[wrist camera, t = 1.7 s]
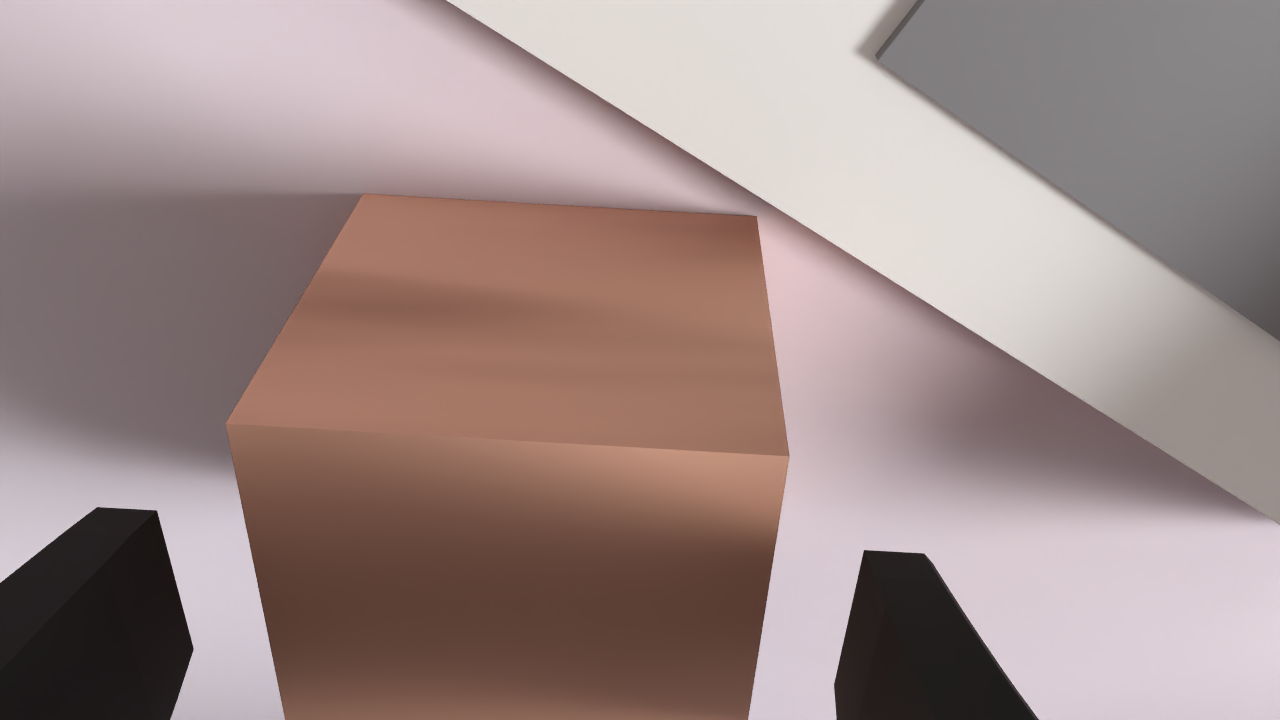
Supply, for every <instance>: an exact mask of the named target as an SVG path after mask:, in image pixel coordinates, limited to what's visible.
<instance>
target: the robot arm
mask: <svg viewBox="0 0 1280 720" xmlns="http://www.w3.org/2000/svg"><path fill="white" fill-rule="evenodd" d="M192 653H193V645H192V641H191V637H190V634H189V630H188V626H187V622H186V618H185V615H184V611H183V607H182V603H181V600H180V596H179V592H178V588H177V585H176V581H175V577H174V573H173V570H172V566H171V562H170V558H169V555H168V551H167V547H166V543H165V539H164V536H163V532H162V528H161V524H160V521H159V517H158V513H157V511H155V510H137V509H119V508H101V507H97V508H96V509H94V510H93V511H92V512H90V513H89V514H88V515H86V516H85V517H84V518H82V519H81V520H80V521H78V522H77V523H76V524H74V525H73V526H72V527H70V528H69V529H68V530H67V531H65V532H64V533H63V534H61V535H60V536H59V537H58V538H56V539H55V540H54V541H53V542H51V543H50V544H49V545H47V546H46V547H45V548H44V549H42V550H41V551H40V552H39V553H37V554H36V555H35V556H34V557H32V558H31V559H30V560H29V561H27V562H26V563H25V564H24V565H22V566H21V567H20V568H19V569H17V570H16V571H15V572H14V573H12V574H11V575H10V576H9V577H7V578H6V579H5V580H4V581H2V582H1V583H0V720H170V718H171V716H172V713H173V710H174V707H175V704H176V702H177V699H178V696H179V692H180V689H181V686H182V683H183V680H184V677H185V674H186V671H187V668H188V665H189V662H190V659H191V656H192ZM834 689H835V702H836V715H837V720H1039V719H1038V718H1037V717H1036V715H1035V714H1034V713H1033V711H1032V710H1031V709H1030V707H1029V706H1028V704H1027V703H1026V702H1025V700H1024V699H1023V698H1022V696H1021V695H1020V694H1019V692H1018V691H1017V690H1016V688H1015V687H1014V685H1013V684H1012V682H1011V681H1010V680H1009V678H1008V677H1007V675H1006V674H1005V672H1004V671H1003V670H1002V668H1001V667H1000V665H999V664H998V662H997V661H996V659H995V658H994V657H993V655H992V654H991V652H990V651H989V649H988V648H987V646H986V645H985V643H984V642H983V640H982V639H981V637H980V636H979V634H978V633H977V631H976V630H975V628H974V627H973V625H972V624H971V622H970V621H969V619H968V618H967V616H966V615H965V613H964V612H963V610H962V609H961V607H960V606H959V604H958V602H957V601H956V599H955V598H954V596H953V595H952V593H951V592H950V590H949V588H948V587H947V585H946V584H945V582H944V581H943V579H942V577H941V576H940V574H939V573H938V571H937V570H936V568H935V566H934V565H933V563H932V562H931V561H930V560H929V559H928V557H927V556H926V555H925V554H922V553H904V552H887V551H869V550H864V553H863V557H862V562H861V566H860V571H859V575H858V580H857V584H856V589H855V593H854V598H853V602H852V607H851V611H850V616H849V620H848V625H847V629H846V634H845V638H844V643H843V647H842V652H841V656H840V661H839V665H838V670H837V674H836V679H835V683H834Z"/></svg>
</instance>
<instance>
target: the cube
mask: <svg viewBox="0 0 1280 720" xmlns="http://www.w3.org/2000/svg"><path fill="white" fill-rule="evenodd" d="M225 425H226V430H227V434H228V439H229V444H230V449H231V454H232V459H233V464H234V469H235V474H236V479H237V484H238V489H239V494H240V499H241V504H242V509H243V513H244V518H245V523H246V528H247V533H248V538H249V543H250V548H251V553H252V558H253V563H254V568H255V573H256V578H257V583H258V588H259V592H260V597H261V602H262V607H263V612H264V617H265V622H266V627H267V632H268V637H269V642H270V647H271V652H272V657H273V662H274V667H275V671H276V676H277V681H278V686H279V691H280V696H281V701H282V706H283V711H284V716H285V720H748V716H749V709H750V703H751V697H752V690H753V684H754V678H755V671H756V665H757V659H758V652H759V646H760V640H761V633H762V627H763V621H764V614H765V608H766V601H767V595H768V589H769V582H770V576H771V570H772V563H773V557H774V551H775V544H776V538H777V532H778V525H779V519H780V513H781V506H782V500H783V494H784V487H785V481H786V475H787V468H788V462H789V450H788V443H787V435H786V428H785V421H784V413H783V406H782V399H781V391H780V384H779V377H778V369H777V362H776V355H775V347H774V340H773V333H772V325H771V318H770V311H769V303H768V296H767V289H766V281H765V274H764V267H763V260H762V252H761V245H760V238H759V230H758V223H757V216H741V215H723V214H706V213H689V212H672V211H654V210H637V209H620V208H603V207H585V206H568V205H551V204H534V203H516V202H499V201H482V200H464V199H447V198H430V197H413V196H395V195H378V194H363V195H362V196H361V198H360V200H359V201H358V203H357V205H356V206H355V208H354V210H353V211H352V213H351V215H350V216H349V218H348V220H347V221H346V223H345V225H344V226H343V228H342V230H341V231H340V233H339V235H338V236H337V238H336V240H335V241H334V243H333V245H332V246H331V248H330V250H329V251H328V253H327V255H326V256H325V258H324V260H323V261H322V263H321V265H320V266H319V268H318V270H317V272H316V273H315V275H314V277H313V278H312V280H311V282H310V283H309V285H308V287H307V288H306V290H305V292H304V293H303V295H302V297H301V298H300V300H299V302H298V303H297V305H296V307H295V308H294V310H293V312H292V313H291V315H290V317H289V318H288V320H287V322H286V323H285V325H284V327H283V328H282V330H281V332H280V333H279V335H278V337H277V338H276V340H275V342H274V343H273V345H272V347H271V348H270V350H269V352H268V353H267V355H266V357H265V358H264V360H263V362H262V363H261V365H260V367H259V368H258V370H257V372H256V373H255V375H254V377H253V378H252V380H251V382H250V383H249V385H248V387H247V388H246V390H245V392H244V393H243V395H242V397H241V398H240V400H239V402H238V403H237V405H236V407H235V408H234V410H233V412H232V413H231V415H230V417H229V418H228V420H227V422H226V423H225Z"/></svg>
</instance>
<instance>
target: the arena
mask: <svg viewBox="0 0 1280 720" xmlns="http://www.w3.org/2000/svg"><path fill="white" fill-rule="evenodd" d="M447 1H448V2H450V3H452V4H453V5H455V6H456V7H458V8H459V9H461V10H463V11H464V12H466V13H467V14H469V15H471V16H472V17H474V18H475V19H477V20H479V21H480V22H482V23H483V24H485V25H487V26H488V27H490V28H491V29H493V30H494V31H496V32H498V33H499V34H501V35H502V36H504V37H506V38H507V39H509V40H510V41H512V42H514V43H515V44H517V45H518V46H520V47H521V48H523V49H525V50H526V51H528V52H529V53H531V54H533V55H534V56H536V57H537V58H539V59H541V60H542V61H544V62H545V63H547V64H549V65H550V66H552V67H553V68H555V69H556V70H558V71H560V72H561V73H563V74H564V75H566V76H568V77H569V78H571V79H572V80H574V81H576V82H577V83H579V84H580V85H582V86H583V87H585V88H587V89H588V90H590V91H591V92H593V93H595V94H596V95H598V96H599V97H601V98H603V99H604V100H606V101H607V102H609V103H611V104H612V105H614V106H615V107H617V108H618V109H620V110H622V111H623V112H625V113H626V114H628V115H630V116H631V117H633V118H634V119H636V120H638V121H639V122H641V123H642V124H644V125H645V126H647V127H649V128H650V129H652V130H653V131H655V132H657V133H658V134H660V135H661V136H663V137H665V138H666V139H668V140H669V141H671V142H673V143H674V144H676V145H677V146H679V147H680V148H682V149H684V150H685V151H687V152H688V153H690V154H692V155H693V156H695V157H696V158H698V159H700V160H701V161H703V162H704V163H706V164H708V165H709V166H711V167H712V168H714V169H715V170H717V171H719V172H720V173H722V174H723V175H725V176H727V177H728V178H730V179H731V180H733V181H735V182H736V183H738V184H739V185H741V186H742V187H744V188H746V189H747V190H749V191H750V192H752V193H754V194H755V195H757V196H758V197H760V198H762V199H763V200H765V201H766V202H768V203H770V204H771V205H773V206H774V207H776V208H777V209H779V210H781V211H782V212H784V213H785V214H787V215H789V216H790V217H792V218H793V219H795V220H797V221H798V222H800V223H801V224H803V225H804V226H806V227H808V228H809V229H811V230H812V231H814V232H816V233H817V234H819V235H820V236H822V237H824V238H825V239H827V240H828V241H830V242H832V243H833V244H835V245H836V246H838V247H839V248H841V249H843V250H844V251H846V252H847V253H849V254H851V255H852V256H854V257H855V258H857V259H859V260H860V261H862V262H863V263H865V264H866V265H868V266H870V267H871V268H873V269H874V270H876V271H878V272H879V273H881V274H882V275H884V276H886V277H887V278H889V279H890V280H892V281H894V282H895V283H897V284H898V285H900V286H901V287H903V288H905V289H906V290H908V291H909V292H911V293H913V294H914V295H916V296H917V297H919V298H921V299H922V300H924V301H925V302H927V303H928V304H930V305H932V306H933V307H935V308H936V309H938V310H940V311H941V312H943V313H944V314H946V315H948V316H949V317H951V318H952V319H954V320H956V321H957V322H959V323H960V324H962V325H963V326H965V327H967V328H968V329H970V330H971V331H973V332H975V333H976V334H978V335H979V336H981V337H983V338H984V339H986V340H987V341H989V342H991V343H992V344H994V345H995V346H997V347H998V348H1000V349H1002V350H1003V351H1005V352H1006V353H1008V354H1010V355H1011V356H1013V357H1014V358H1016V359H1018V360H1019V361H1021V362H1022V363H1024V364H1025V365H1027V366H1029V367H1030V368H1032V369H1033V370H1035V371H1037V372H1038V373H1040V374H1041V375H1043V376H1045V377H1046V378H1048V379H1049V380H1051V381H1053V382H1054V383H1056V384H1057V385H1059V386H1060V387H1062V388H1064V389H1065V390H1067V391H1068V392H1070V393H1072V394H1073V395H1075V396H1076V397H1078V398H1080V399H1081V400H1083V401H1084V402H1086V403H1087V404H1089V405H1091V406H1092V407H1094V408H1095V409H1097V410H1099V411H1100V412H1102V413H1103V414H1105V415H1107V416H1108V417H1110V418H1111V419H1113V420H1115V421H1116V422H1118V423H1119V424H1121V425H1122V426H1124V427H1126V428H1127V429H1129V430H1130V431H1132V432H1134V433H1135V434H1137V435H1138V436H1140V437H1142V438H1143V439H1145V440H1146V441H1148V442H1149V443H1151V444H1153V445H1154V446H1156V447H1157V448H1159V449H1161V450H1162V451H1164V452H1165V453H1167V454H1169V455H1170V456H1172V457H1173V458H1175V459H1177V460H1178V461H1180V462H1181V463H1183V464H1184V465H1186V466H1188V467H1189V468H1191V469H1192V470H1194V471H1196V472H1197V473H1199V474H1200V475H1202V476H1204V477H1205V478H1207V479H1208V480H1210V481H1212V482H1213V483H1215V484H1216V485H1218V486H1219V487H1221V488H1223V489H1224V490H1226V491H1227V492H1229V493H1231V494H1232V495H1234V496H1235V497H1237V498H1239V499H1240V500H1242V501H1243V502H1245V503H1246V504H1248V505H1250V506H1251V507H1253V508H1254V509H1256V510H1258V511H1259V512H1261V513H1262V514H1264V515H1266V516H1267V517H1269V518H1270V519H1272V520H1274V521H1275V522H1277V523H1278V524H1280V0H447Z"/></svg>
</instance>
